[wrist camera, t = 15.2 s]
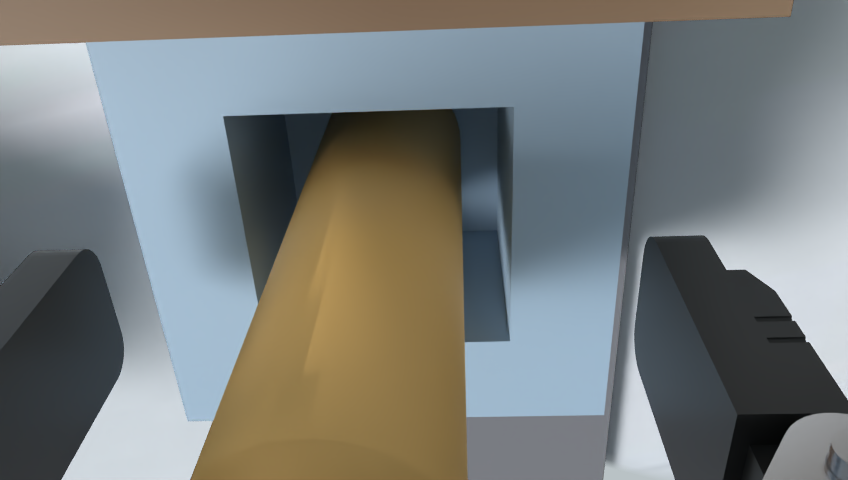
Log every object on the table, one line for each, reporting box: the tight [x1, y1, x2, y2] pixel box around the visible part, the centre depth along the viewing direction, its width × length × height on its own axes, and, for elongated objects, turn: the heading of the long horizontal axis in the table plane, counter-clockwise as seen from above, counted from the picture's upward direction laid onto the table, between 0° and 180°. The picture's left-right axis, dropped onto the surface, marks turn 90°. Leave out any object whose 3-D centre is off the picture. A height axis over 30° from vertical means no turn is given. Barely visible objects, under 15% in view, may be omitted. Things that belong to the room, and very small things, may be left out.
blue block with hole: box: [86, 22, 645, 421], centre depth 15 cm, size 8×8×5 cm
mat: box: [466, 22, 653, 480], centre depth 20 cm, size 20×11×1 cm, turn 2°
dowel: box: [190, 109, 468, 480], centre depth 12 cm, size 3×3×10 cm
